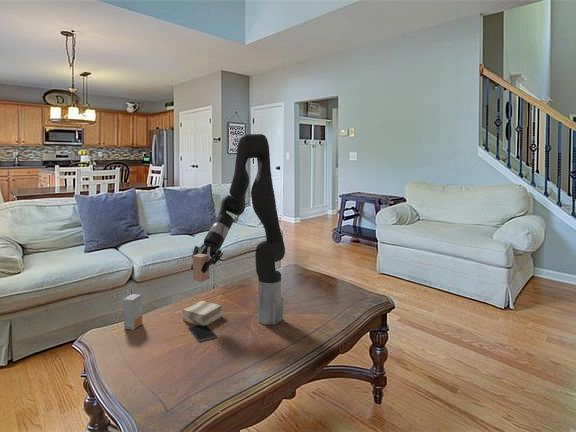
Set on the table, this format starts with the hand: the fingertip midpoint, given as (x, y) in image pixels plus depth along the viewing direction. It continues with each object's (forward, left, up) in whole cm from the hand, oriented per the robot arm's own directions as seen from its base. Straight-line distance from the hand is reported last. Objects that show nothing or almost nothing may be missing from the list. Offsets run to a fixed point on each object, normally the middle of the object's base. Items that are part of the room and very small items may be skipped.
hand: (197, 270), depth 150 cm
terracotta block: (0, -2, -4) cm, 5 cm away
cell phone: (-9, +8, -21) cm, 24 cm away
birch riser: (0, -2, -21) cm, 21 cm away
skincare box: (+18, +17, -21) cm, 32 cm away
